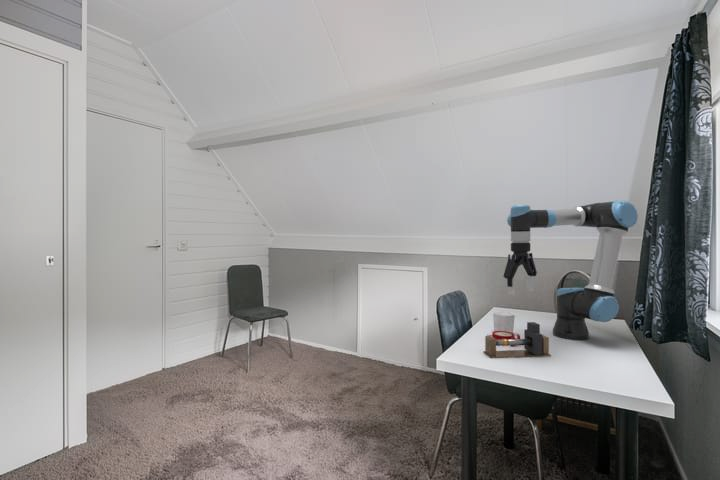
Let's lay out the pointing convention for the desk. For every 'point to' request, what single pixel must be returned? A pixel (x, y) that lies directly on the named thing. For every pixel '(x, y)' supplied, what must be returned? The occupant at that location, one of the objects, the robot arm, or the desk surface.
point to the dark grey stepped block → (533, 338)
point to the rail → (492, 353)
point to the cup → (503, 321)
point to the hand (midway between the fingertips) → (520, 292)
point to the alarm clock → (504, 335)
